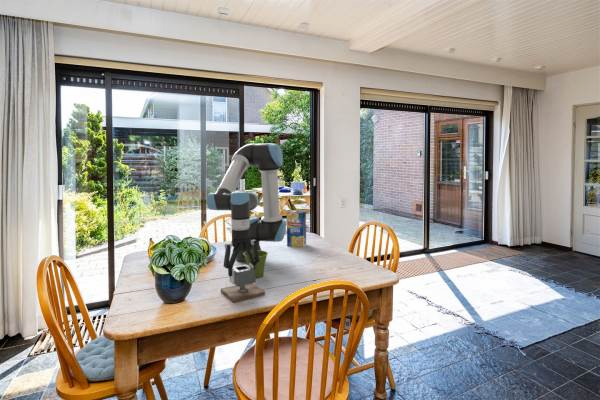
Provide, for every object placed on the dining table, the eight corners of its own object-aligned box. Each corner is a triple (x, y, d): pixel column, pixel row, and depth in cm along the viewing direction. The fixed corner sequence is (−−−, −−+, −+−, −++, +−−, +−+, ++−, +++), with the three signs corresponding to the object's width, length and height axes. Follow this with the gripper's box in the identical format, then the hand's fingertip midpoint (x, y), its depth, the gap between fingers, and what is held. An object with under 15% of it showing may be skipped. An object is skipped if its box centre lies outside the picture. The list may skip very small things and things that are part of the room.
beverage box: (290, 243, 237) (290, 210, 234) (306, 244, 234) (306, 211, 231) (286, 246, 231) (286, 212, 228) (303, 247, 227) (303, 213, 225)
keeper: (220, 291, 155) (220, 270, 154) (250, 285, 163) (249, 264, 161) (234, 302, 143) (233, 280, 142) (265, 295, 151) (264, 273, 150)
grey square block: (229, 281, 153) (229, 267, 153) (246, 277, 158) (246, 264, 157) (237, 286, 147) (237, 272, 146) (255, 282, 151) (254, 268, 150)
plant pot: (264, 280, 169) (264, 257, 167) (240, 279, 171) (239, 256, 169) (270, 272, 180) (270, 250, 179) (248, 271, 182) (247, 249, 181)
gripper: (220, 233, 141) (222, 289, 143) (267, 227, 152) (268, 278, 155) (213, 230, 147) (215, 283, 150) (259, 224, 158) (260, 274, 161)
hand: (242, 281), depth 152 cm, fingers closed on grey square block, 8 cm apart
